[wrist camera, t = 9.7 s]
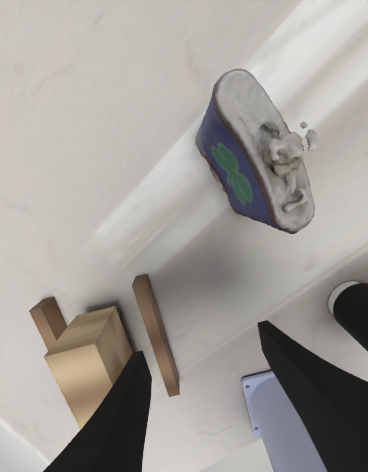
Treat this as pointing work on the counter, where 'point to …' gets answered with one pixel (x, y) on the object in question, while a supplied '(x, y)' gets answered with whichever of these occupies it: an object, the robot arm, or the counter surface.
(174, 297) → the counter surface
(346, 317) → the dixie cup
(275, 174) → the flask
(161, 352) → the peg frame
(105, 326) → the light wooden block
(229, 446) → the counter surface
